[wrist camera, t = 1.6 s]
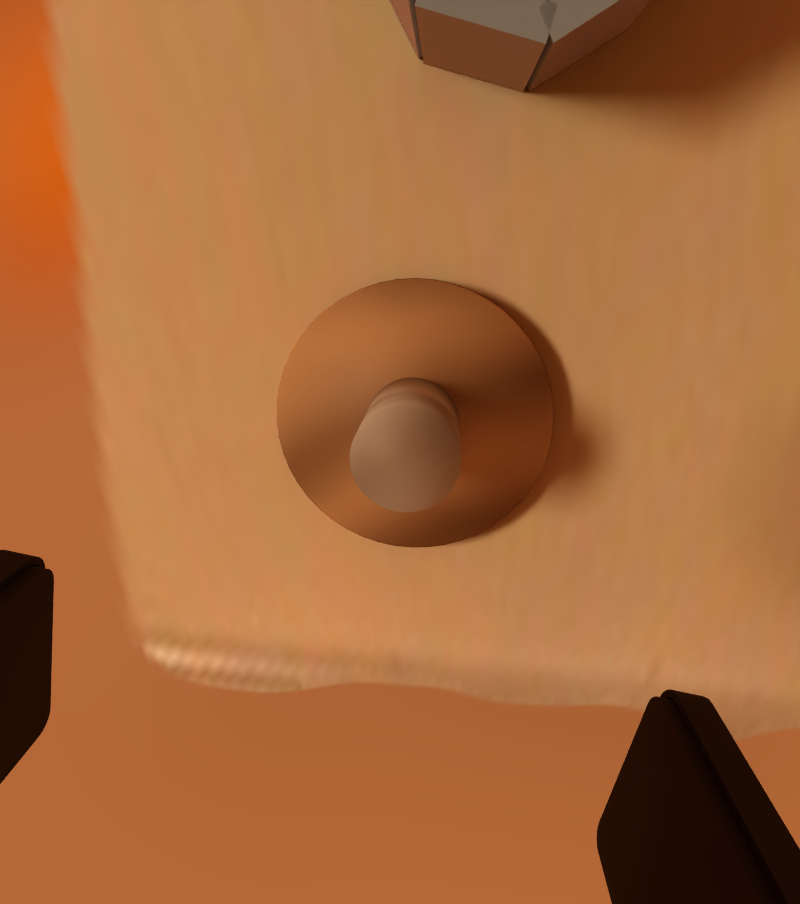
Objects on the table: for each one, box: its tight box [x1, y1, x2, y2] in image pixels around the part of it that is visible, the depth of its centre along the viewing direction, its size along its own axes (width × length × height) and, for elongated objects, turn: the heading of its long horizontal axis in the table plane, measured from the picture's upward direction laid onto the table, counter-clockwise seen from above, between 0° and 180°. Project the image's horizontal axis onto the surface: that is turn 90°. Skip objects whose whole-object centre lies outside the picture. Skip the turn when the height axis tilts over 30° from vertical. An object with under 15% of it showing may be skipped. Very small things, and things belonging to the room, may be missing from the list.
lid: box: [277, 278, 554, 547], centre depth 25 cm, size 12×12×6 cm
